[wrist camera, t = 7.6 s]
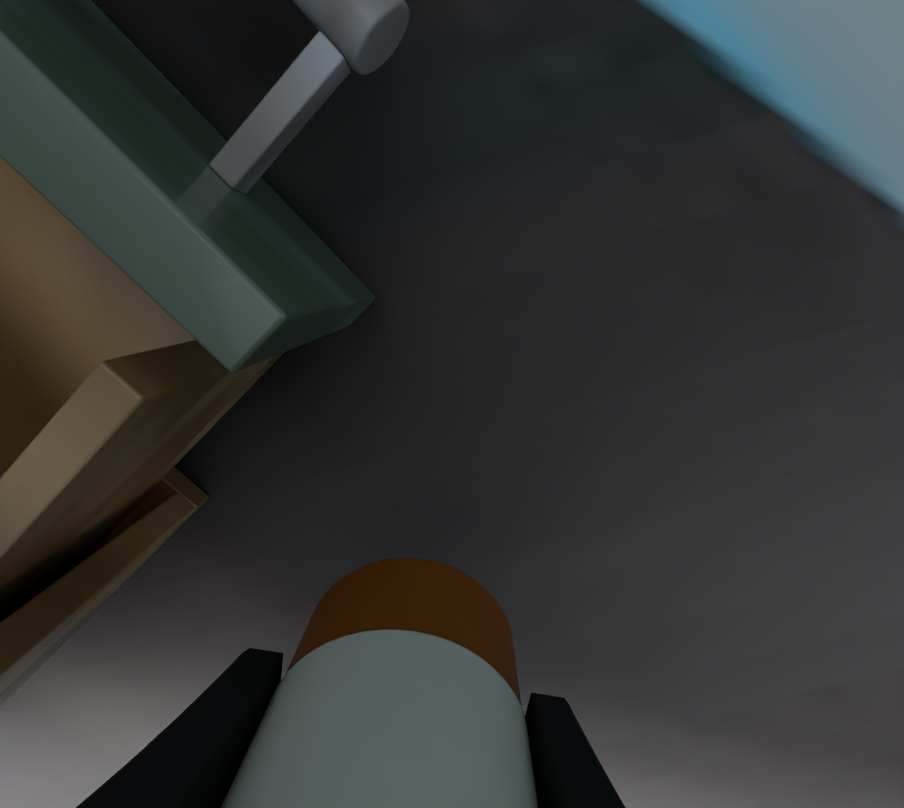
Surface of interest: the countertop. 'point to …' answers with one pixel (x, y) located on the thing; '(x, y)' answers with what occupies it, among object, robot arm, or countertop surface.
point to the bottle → (395, 701)
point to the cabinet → (92, 579)
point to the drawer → (143, 265)
